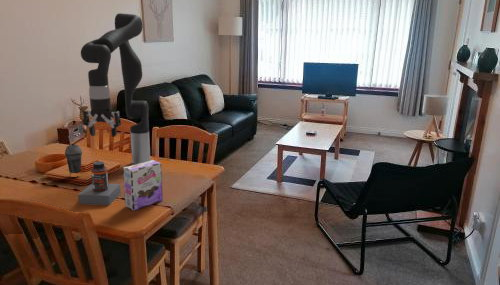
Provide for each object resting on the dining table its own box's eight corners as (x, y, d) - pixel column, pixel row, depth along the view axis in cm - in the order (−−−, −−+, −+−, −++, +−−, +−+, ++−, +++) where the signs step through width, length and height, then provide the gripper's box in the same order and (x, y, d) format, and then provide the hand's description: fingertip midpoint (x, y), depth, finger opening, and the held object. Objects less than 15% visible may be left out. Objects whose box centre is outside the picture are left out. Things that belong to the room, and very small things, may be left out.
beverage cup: (87, 176, 171) (83, 135, 166) (71, 180, 166) (66, 138, 161) (80, 172, 176) (76, 132, 171) (64, 176, 171) (60, 135, 166)
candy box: (133, 211, 138) (130, 170, 134) (124, 206, 142) (122, 167, 137) (163, 200, 148) (161, 162, 144) (154, 196, 152) (153, 159, 148)
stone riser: (93, 191, 154) (92, 183, 153) (120, 193, 154) (120, 184, 153) (79, 203, 143) (78, 194, 142) (109, 205, 143) (108, 195, 141)
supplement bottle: (93, 192, 144) (90, 165, 141) (92, 187, 149) (89, 161, 146) (109, 190, 146) (107, 164, 143) (107, 185, 151) (105, 159, 148)
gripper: (121, 95, 146) (124, 134, 151) (86, 94, 147) (90, 132, 152) (113, 99, 139) (117, 139, 144) (77, 97, 140) (81, 137, 145)
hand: (103, 136), depth 148 cm, fingers open, 8 cm apart
